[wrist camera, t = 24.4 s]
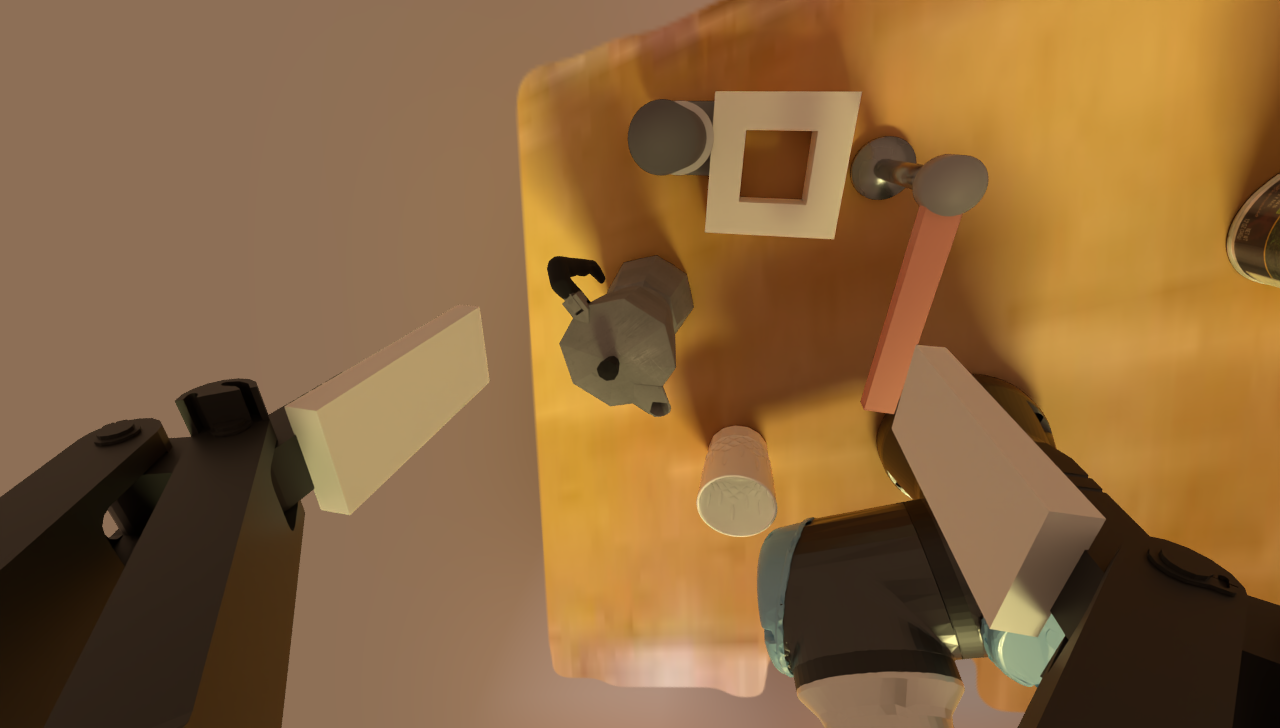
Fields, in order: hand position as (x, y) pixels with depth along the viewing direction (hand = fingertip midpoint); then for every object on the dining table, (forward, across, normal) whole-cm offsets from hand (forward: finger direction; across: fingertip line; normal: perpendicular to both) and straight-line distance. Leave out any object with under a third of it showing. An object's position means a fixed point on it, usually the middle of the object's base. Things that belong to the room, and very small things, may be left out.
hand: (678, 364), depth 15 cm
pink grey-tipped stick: (+20, -13, +3) cm, 24 cm away
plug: (+34, +4, -6) cm, 35 cm away
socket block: (+35, -4, -4) cm, 35 cm away
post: (+35, -13, -4) cm, 37 cm away
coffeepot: (+35, +8, +8) cm, 37 cm away
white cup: (+35, -4, +27) cm, 44 cm away
